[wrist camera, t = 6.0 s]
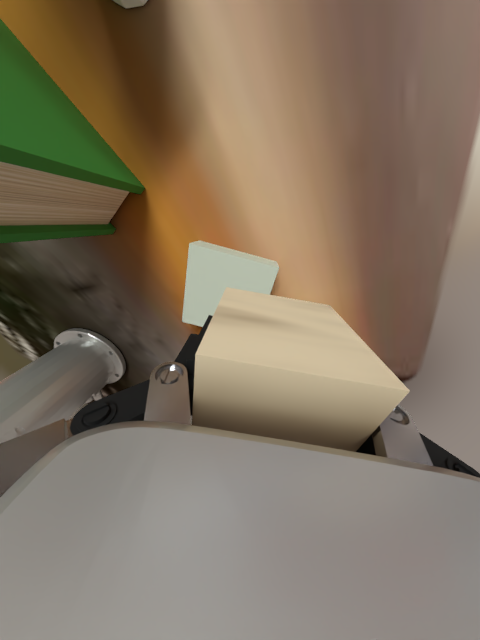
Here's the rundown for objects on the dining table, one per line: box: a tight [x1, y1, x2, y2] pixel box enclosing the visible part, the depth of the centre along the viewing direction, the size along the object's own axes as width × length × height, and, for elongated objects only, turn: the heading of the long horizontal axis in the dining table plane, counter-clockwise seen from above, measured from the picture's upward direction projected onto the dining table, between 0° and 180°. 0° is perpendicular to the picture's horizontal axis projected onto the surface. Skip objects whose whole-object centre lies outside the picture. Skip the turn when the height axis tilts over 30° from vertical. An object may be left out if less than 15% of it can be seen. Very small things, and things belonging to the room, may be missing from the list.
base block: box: [182, 240, 279, 327], centre depth 23 cm, size 10×10×4 cm
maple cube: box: [192, 287, 409, 452], centre depth 9 cm, size 6×6×6 cm
